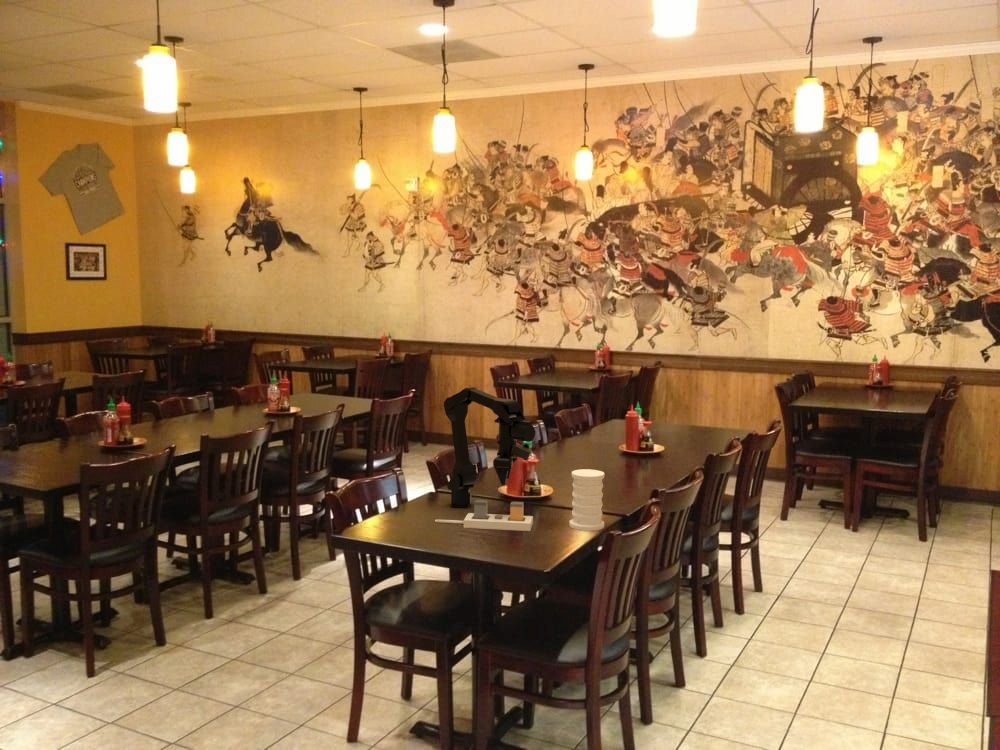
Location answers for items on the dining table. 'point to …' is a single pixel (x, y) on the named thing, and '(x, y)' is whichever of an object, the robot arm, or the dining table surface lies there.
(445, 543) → the dining table surface
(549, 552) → the dining table surface
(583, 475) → the decorative container
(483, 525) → the power strip
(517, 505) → the plug
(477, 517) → the twin plug
